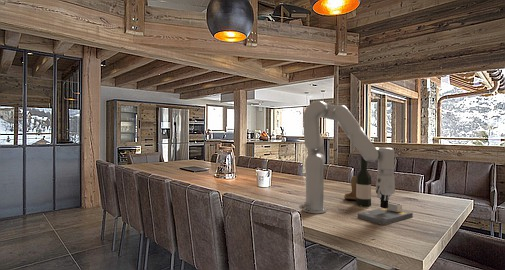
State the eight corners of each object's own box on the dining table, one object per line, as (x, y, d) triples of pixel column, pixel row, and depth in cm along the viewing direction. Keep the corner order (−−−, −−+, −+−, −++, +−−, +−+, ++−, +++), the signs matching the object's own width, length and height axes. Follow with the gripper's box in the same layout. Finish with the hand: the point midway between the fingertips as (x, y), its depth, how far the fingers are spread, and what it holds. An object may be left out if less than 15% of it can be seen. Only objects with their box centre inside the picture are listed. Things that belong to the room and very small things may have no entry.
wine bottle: (361, 207, 171) (362, 154, 170) (353, 203, 179) (353, 153, 178) (374, 206, 173) (374, 154, 172) (365, 202, 181) (365, 153, 181)
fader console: (383, 225, 138) (383, 220, 138) (357, 217, 150) (357, 213, 150) (412, 216, 152) (412, 212, 152) (387, 210, 164) (387, 206, 164)
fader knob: (397, 212, 151) (397, 204, 151) (386, 209, 156) (386, 202, 156) (401, 211, 154) (401, 203, 153) (391, 208, 159) (391, 201, 159)
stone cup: (368, 198, 193) (369, 175, 193) (370, 202, 181) (370, 178, 181) (344, 196, 197) (344, 174, 197) (344, 200, 186) (344, 176, 186)
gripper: (383, 173, 143) (381, 211, 144) (400, 172, 151) (399, 207, 152) (369, 171, 150) (368, 207, 150) (387, 170, 158) (386, 204, 158)
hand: (384, 207), depth 151 cm, fingers closed
